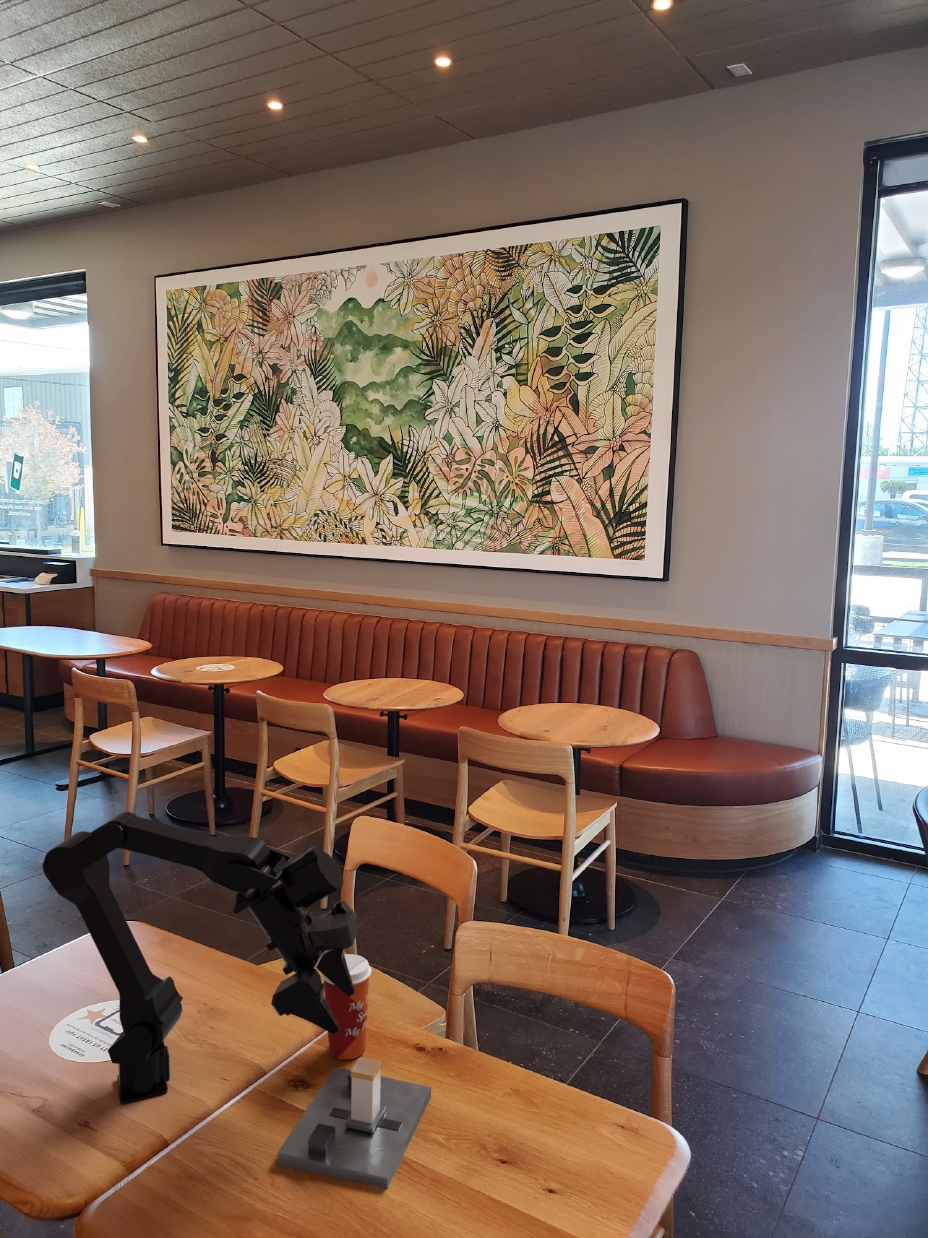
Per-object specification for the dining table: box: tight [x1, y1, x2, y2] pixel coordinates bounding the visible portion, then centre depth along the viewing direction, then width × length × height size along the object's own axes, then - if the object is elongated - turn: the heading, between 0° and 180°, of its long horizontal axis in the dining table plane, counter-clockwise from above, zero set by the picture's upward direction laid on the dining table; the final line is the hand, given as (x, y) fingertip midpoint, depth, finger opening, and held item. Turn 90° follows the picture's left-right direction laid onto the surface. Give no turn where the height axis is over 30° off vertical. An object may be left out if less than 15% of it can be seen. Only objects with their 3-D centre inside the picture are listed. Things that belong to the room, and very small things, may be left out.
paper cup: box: [320, 953, 372, 1061], centre depth 137 cm, size 8×8×14 cm
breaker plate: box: [277, 1066, 432, 1189], centre depth 120 cm, size 15×18×4 cm
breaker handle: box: [345, 1056, 386, 1133], centre depth 119 cm, size 4×5×8 cm
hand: (344, 1012), depth 124 cm, fingers open, 9 cm apart
